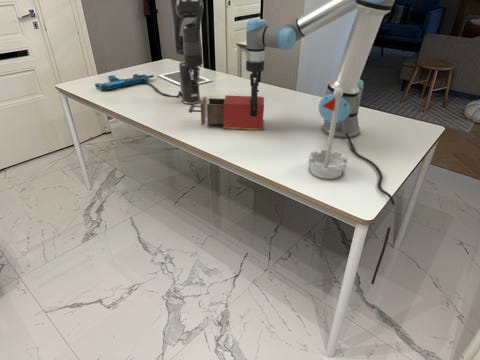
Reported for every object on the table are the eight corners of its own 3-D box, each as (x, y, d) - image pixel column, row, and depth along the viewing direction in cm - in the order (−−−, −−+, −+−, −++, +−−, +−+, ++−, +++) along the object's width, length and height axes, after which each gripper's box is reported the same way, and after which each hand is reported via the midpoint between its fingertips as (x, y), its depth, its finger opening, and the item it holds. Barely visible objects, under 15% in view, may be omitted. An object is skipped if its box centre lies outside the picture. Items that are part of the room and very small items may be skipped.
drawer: (188, 124, 152) (187, 103, 146) (192, 115, 160) (191, 96, 154) (237, 126, 151) (237, 106, 146) (238, 117, 159) (239, 98, 154)
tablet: (157, 75, 220) (157, 75, 220) (183, 70, 231) (183, 69, 231) (184, 87, 200) (184, 87, 200) (212, 80, 211) (212, 80, 211)
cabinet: (223, 128, 151) (223, 103, 145) (225, 118, 160) (225, 95, 154) (262, 130, 151) (264, 105, 144) (262, 120, 160) (263, 96, 153)
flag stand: (330, 158, 128) (344, 79, 112) (352, 176, 118) (370, 92, 102) (300, 165, 124) (309, 84, 108) (320, 183, 114) (333, 97, 98)
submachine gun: (139, 68, 225) (158, 74, 208) (140, 74, 226) (158, 80, 210) (87, 78, 206) (103, 86, 189) (89, 84, 208) (104, 92, 191)
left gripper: (186, 48, 145) (190, 88, 154) (180, 56, 134) (184, 98, 143) (204, 48, 144) (206, 88, 154) (199, 56, 133) (202, 98, 143)
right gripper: (247, 53, 149) (246, 101, 161) (245, 68, 130) (244, 121, 142) (264, 54, 149) (262, 102, 161) (264, 68, 130) (262, 121, 142)
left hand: (196, 93), depth 149 cm, fingers closed
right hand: (253, 111), depth 152 cm, fingers closed on cabinet, 11 cm apart
